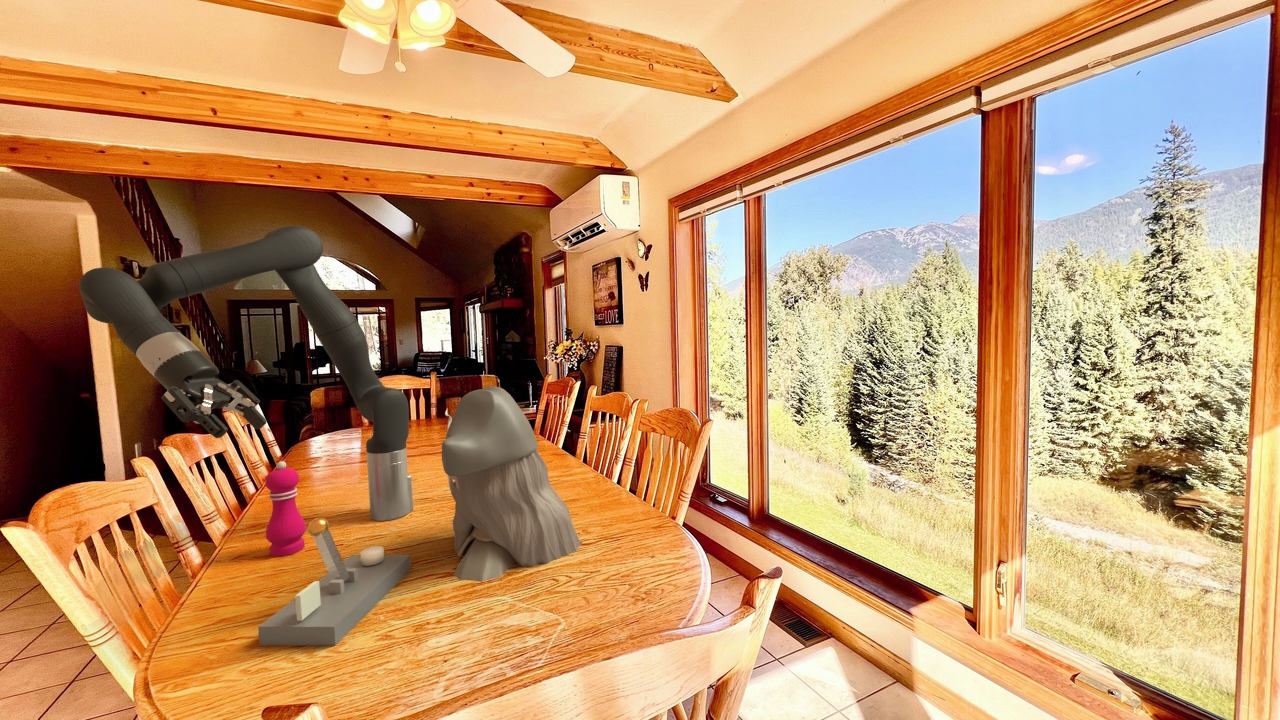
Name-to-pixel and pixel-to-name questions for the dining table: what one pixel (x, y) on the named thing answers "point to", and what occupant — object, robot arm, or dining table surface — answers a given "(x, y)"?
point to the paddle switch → (307, 600)
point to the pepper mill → (284, 512)
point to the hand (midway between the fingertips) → (243, 430)
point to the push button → (372, 555)
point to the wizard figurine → (501, 490)
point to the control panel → (336, 604)
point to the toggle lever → (328, 548)
